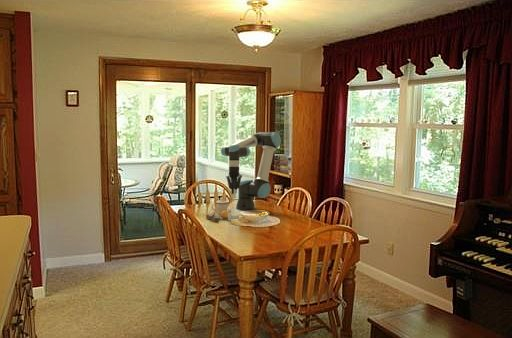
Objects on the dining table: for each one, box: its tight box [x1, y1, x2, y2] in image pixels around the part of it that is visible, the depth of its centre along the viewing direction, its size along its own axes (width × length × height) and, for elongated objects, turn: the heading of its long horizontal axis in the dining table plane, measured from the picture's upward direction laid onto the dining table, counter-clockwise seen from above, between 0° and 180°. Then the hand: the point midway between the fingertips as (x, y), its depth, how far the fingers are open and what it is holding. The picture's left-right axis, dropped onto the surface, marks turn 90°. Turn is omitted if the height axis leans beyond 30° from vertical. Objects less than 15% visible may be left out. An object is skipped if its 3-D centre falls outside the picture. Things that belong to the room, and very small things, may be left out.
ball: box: [220, 210, 228, 219], centre depth 327 cm, size 6×6×6 cm
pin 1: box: [209, 210, 221, 220], centre depth 323 cm, size 2×2×8 cm
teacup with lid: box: [211, 198, 228, 216], centre depth 344 cm, size 12×9×12 cm
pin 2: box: [227, 208, 232, 222], centre depth 321 cm, size 2×2×8 cm
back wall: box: [205, 213, 219, 223], centre depth 322 cm, size 14×2×3 cm, turn 35°
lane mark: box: [219, 215, 240, 221], centre depth 330 cm, size 18×8×1 cm, turn 125°
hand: (233, 198), depth 330 cm, fingers closed
